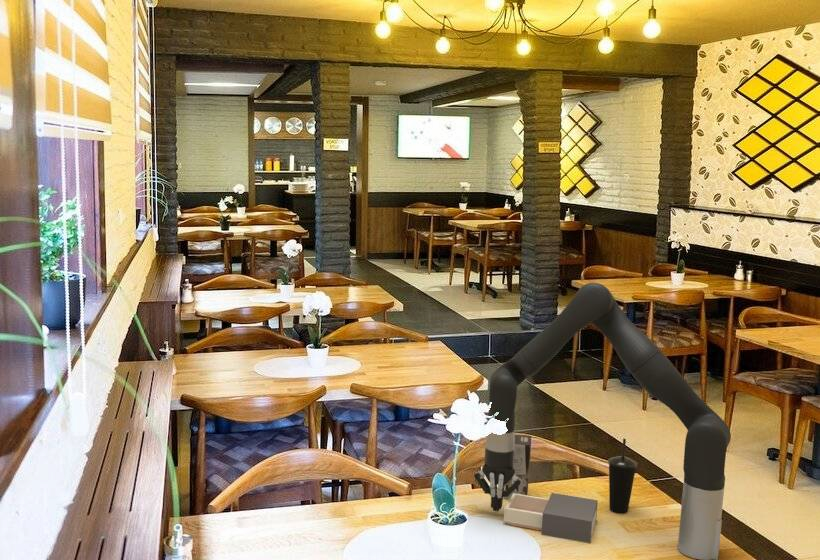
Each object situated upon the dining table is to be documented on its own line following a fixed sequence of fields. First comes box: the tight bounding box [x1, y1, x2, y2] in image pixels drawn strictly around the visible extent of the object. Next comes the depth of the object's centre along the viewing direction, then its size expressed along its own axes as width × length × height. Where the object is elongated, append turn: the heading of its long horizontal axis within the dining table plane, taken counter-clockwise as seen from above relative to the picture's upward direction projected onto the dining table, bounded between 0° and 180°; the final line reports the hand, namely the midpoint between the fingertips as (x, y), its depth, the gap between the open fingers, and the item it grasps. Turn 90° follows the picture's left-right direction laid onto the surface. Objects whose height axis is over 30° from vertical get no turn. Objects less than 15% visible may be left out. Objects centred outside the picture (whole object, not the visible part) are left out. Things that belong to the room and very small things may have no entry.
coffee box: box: [503, 434, 532, 500], centre depth 228 cm, size 9×6×16 cm
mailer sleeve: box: [540, 492, 599, 544], centre depth 208 cm, size 12×14×6 cm
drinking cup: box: [607, 438, 638, 515], centre depth 220 cm, size 8×8×20 cm
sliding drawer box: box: [503, 493, 598, 538], centre depth 210 cm, size 22×11×4 cm, turn 71°
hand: (496, 509), depth 214 cm, fingers closed
